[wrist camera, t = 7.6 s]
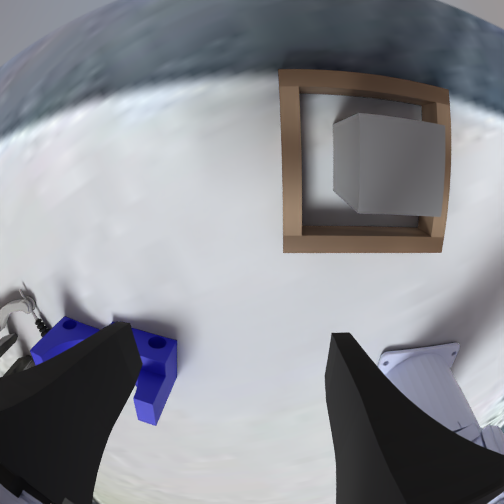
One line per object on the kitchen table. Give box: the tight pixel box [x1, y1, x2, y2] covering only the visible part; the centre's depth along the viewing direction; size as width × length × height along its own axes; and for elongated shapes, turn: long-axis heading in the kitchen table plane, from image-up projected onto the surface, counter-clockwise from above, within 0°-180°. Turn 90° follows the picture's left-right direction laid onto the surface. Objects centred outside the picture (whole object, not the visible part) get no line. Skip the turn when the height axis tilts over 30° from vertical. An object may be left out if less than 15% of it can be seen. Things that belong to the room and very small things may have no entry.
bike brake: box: [0, 290, 50, 377], centre depth 23 cm, size 14×7×20 cm
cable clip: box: [30, 316, 177, 426], centre depth 20 cm, size 12×4×6 cm, turn 81°
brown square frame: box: [278, 69, 451, 253], centre depth 14 cm, size 10×10×2 cm
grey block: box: [333, 113, 445, 217], centre depth 13 cm, size 4×4×6 cm
